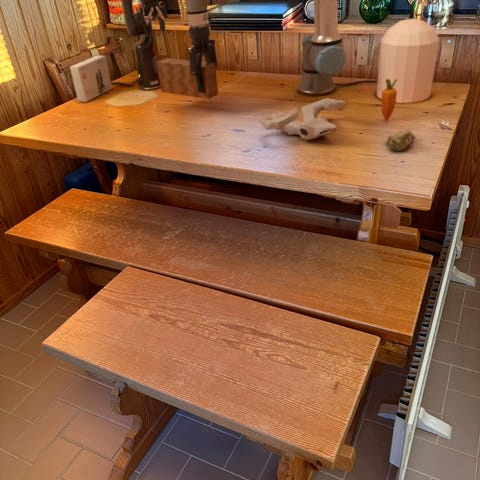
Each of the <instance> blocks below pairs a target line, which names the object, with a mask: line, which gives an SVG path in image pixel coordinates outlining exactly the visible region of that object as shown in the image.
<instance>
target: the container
mask: <svg viewBox="0 0 480 480" xmlns="http://www.w3.org/2000/svg"><path fill="white" fill-rule="evenodd" d="M439 41H440V37H439V35H438V34H437V31H436V30H435V28H434V27H433V25H431V24H429V23H428V22H426V21H425V20H423V19H419V18H418V19H416V18H407V19H402V20H400V21H398V22H396V23H395V24H393V25H392V26H390V27H389V28H388V29H387V30H386V31H385V33H384V34H383V35H382V37H381V38H380V41H379V42H380V43H379V53H378V54H379V55H378V68H377V80H376V81H377V83H376V92H375V94H376V96H377V98H379V99H381V98H382V91H383V90H384V89H386V88H387V87H386V85H387V83H386V79H390V82H391V84H393V82H394V80H395V79H397V81H396V83H395V84H394V86H393V88H394V89H395V90H396V91H397V95H396V102H395V103H401V104H403V103H406V104H407V103H416V102H422V101H425V100H427V99H429V98H430V96H431V94H432V89H433V82H434V75H435V68H436V62H437V55H438V48H439ZM389 86H390V85H389ZM391 86H392V85H391Z"/></svg>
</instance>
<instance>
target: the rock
mask: <svg viewBox="0 0 480 480" xmlns="http://www.w3.org/2000/svg"><path fill="white" fill-rule="evenodd" d="M415 139H416V135H415V134H414V132H412V131H411V130H408V129H407V130H404V131H398V132H396V133H394V134H393V135H392V134H391V135H389V136H388V137H387V143H388V145H387V146H388V147H389V149H391V150H392V151H395V152H404V151H406V150H407V148H409V145H410V144H411V143H412V142H413V141H414V140H415Z"/></svg>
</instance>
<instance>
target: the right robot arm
mask: <svg viewBox="0 0 480 480" xmlns="http://www.w3.org/2000/svg"><path fill="white" fill-rule="evenodd" d="M239 2H240V0H184V5H185V10H186V18H187V25H188V26H189V28H188V32H189V39H191V40H192V41H191V45H190V46H187V48H186V51H187V54H188V59H189V61H190V71H191V75H195V77H196V83H197V86H198V92H201V93H205V89H204V81H203V75H201V66H202V62H203V57H204V61H205V62H211V63H215V69H216V70H217V67H218V59H217V51H216V40H215V39H210V36H211V28H210V25H209V23H210V22H209V21H210V20H209V13H208V10H209V9H208V7H212V6H219V5H232V4H235V3H236V4H237V3H239ZM338 9H339V7H338V0H313V16H314V17H313V21H314V22H313V23H314V33H309V34H305V35H303V37H302V44H301V46H302V74H301V78H300V80H299V81H300V82H299V85H298V92H299V94H301V95H305V96H311V97H313V96H315V97H318V96H325V95H329V94H331V93H333V92H334V91H335V86H341V87H343V86H344V87H345V86H346V87H347V86H352V85H355V84H356V85H357V84H364V83H376V84H377V80H358V81H353V82H347V83H335V81H334V79H333V76H337V74H339V73H340V72H341V71H342V70H343V68H344V67H345V65H346V61H347V54H346V52H345V50H344V48H343V35H342V34H341V33H340V32H339V15H338V13H339V12H338Z"/></svg>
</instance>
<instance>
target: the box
mask: <svg viewBox="0 0 480 480" xmlns="http://www.w3.org/2000/svg"><path fill="white" fill-rule="evenodd" d="M156 61H157V62H156V63H157V68H158V74H159V79H160V85H161V87H160V89H161V93H167V94H173V95H179V96H187V97H192V98H200V99H207V100H210V99H212V98H214V97H216V96H218V95H219V87H218V79H217V71H216V70H217V68H216V69H215V63H211V62H206V61H202V66H201V75H203V81H204V89H205V93H201V92H198V86H197V83H196V77H195V75H191V71H190V61H189V60H188V59H178V58H169V57H166V58H163V59H160V60H156Z"/></svg>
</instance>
